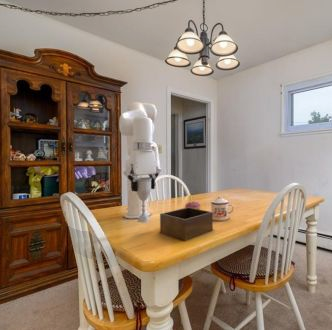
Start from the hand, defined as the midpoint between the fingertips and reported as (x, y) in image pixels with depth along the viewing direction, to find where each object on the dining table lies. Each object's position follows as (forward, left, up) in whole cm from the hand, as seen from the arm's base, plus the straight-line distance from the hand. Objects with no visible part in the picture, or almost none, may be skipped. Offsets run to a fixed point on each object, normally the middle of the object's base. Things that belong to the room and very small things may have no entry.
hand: (143, 189), depth 94 cm
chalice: (0, 0, -13) cm, 13 cm away
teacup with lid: (+12, +37, -18) cm, 43 cm away
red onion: (-6, +33, -18) cm, 38 cm away
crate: (+13, +12, -18) cm, 25 cm away
